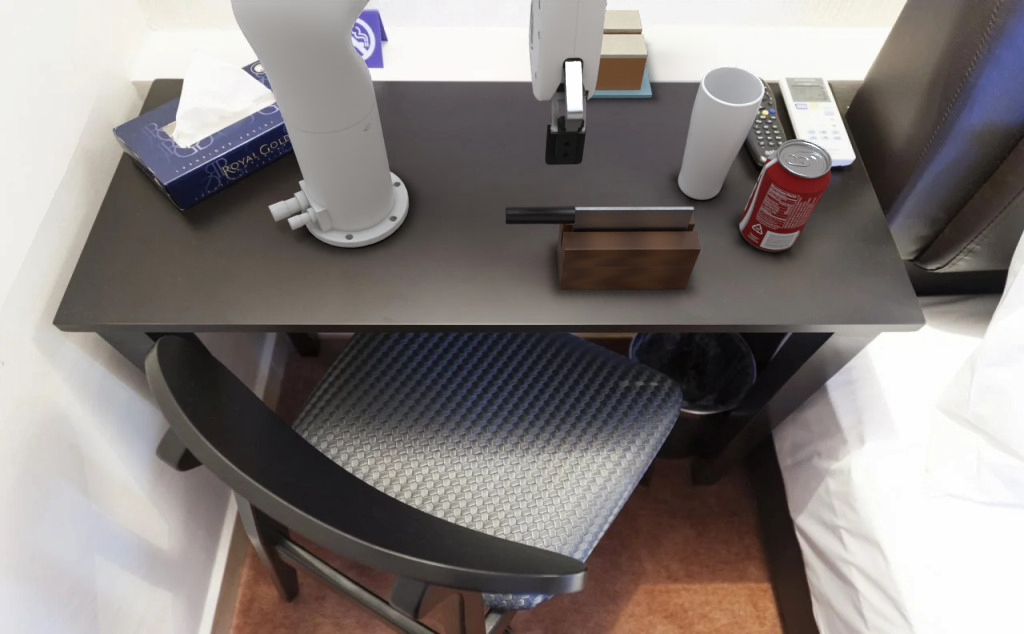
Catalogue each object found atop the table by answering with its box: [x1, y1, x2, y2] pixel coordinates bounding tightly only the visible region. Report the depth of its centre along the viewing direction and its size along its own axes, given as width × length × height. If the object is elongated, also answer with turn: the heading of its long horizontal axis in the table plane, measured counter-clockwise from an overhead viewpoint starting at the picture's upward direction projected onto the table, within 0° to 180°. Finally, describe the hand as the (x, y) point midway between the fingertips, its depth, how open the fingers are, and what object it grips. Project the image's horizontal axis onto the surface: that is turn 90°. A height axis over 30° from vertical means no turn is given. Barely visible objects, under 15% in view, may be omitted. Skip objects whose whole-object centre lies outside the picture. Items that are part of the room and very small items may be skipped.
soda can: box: [738, 138, 833, 253], centre depth 73 cm, size 7×7×12 cm
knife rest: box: [556, 213, 702, 291], centre depth 72 cm, size 14×6×7 cm, turn 91°
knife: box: [505, 205, 695, 232], centre depth 69 cm, size 19×2×6 cm, turn 91°
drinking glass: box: [677, 65, 766, 201], centre depth 76 cm, size 7×7×15 cm
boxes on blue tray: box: [590, 9, 653, 99], centre depth 92 cm, size 12×12×6 cm
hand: (558, 124), depth 61 cm, fingers open, 9 cm apart
